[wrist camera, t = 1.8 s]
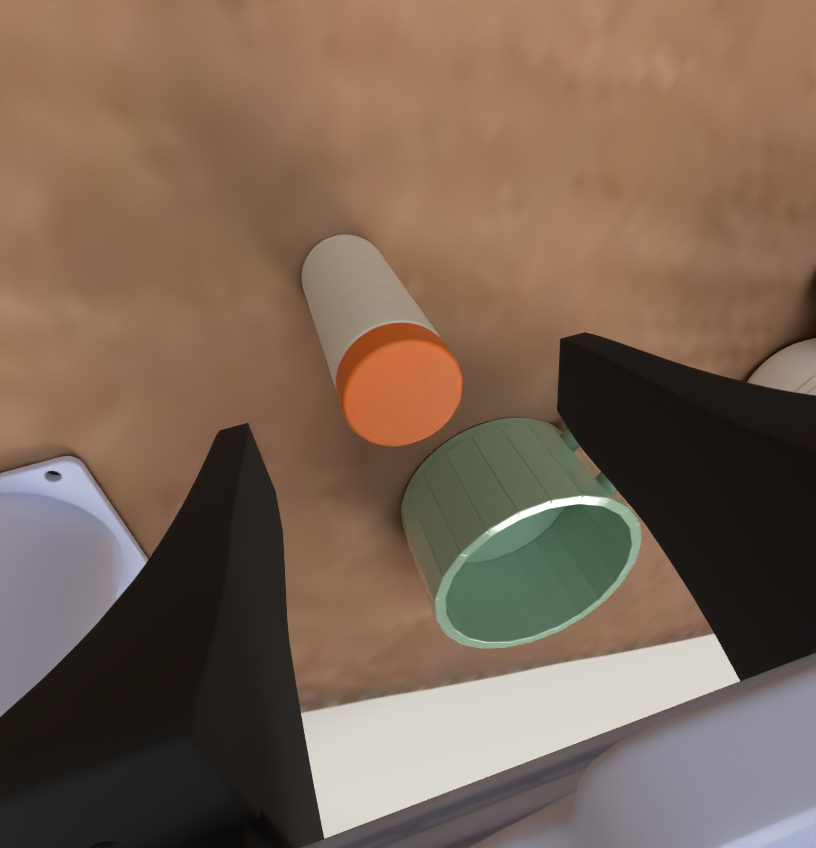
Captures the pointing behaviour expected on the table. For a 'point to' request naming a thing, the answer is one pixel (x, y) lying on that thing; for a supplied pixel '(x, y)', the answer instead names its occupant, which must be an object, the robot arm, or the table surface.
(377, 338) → the glue stick
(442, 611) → the mug
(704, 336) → the table surface
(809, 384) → the cup
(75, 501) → the robot arm
